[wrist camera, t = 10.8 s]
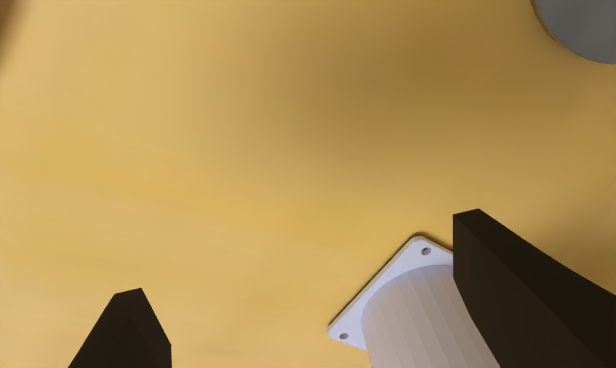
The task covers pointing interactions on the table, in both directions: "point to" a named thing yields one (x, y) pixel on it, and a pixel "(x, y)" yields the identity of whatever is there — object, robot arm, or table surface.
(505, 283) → the robot arm
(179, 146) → the table surface
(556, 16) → the slate coaster
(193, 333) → the table surface
